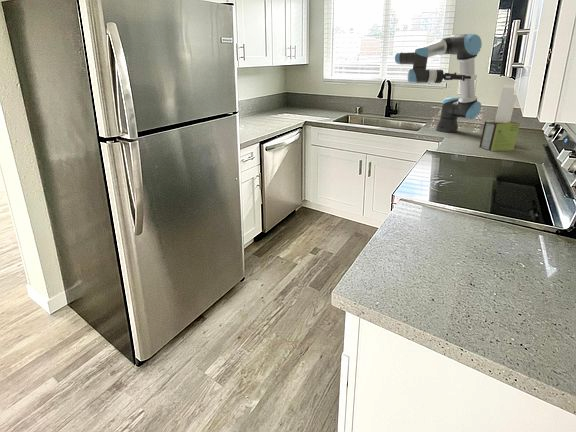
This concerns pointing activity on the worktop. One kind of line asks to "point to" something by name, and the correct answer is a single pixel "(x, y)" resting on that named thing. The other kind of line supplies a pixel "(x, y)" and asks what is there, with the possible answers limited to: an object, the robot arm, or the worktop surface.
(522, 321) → the worktop surface
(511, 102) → the milk
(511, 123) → the protein box
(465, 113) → the robot arm
